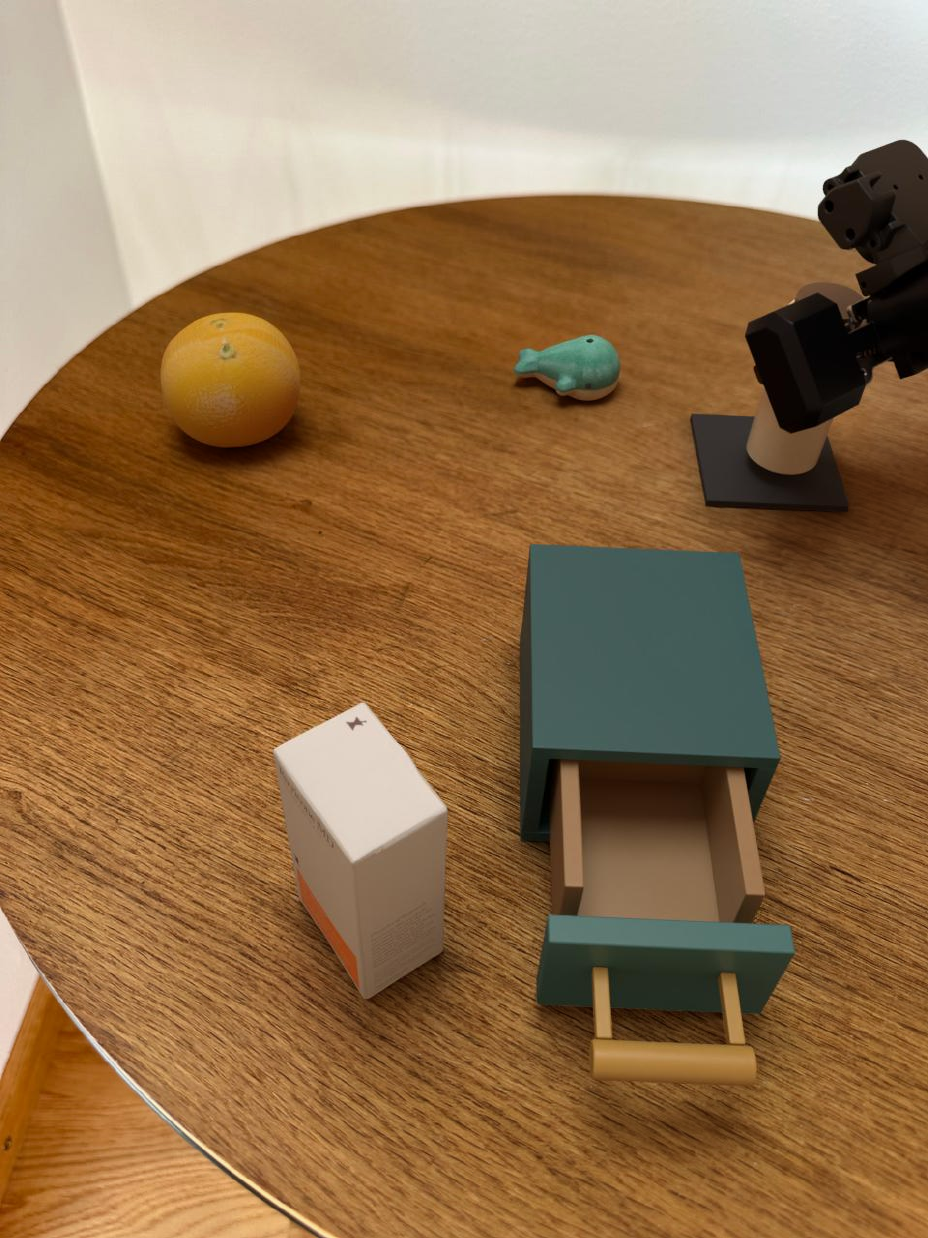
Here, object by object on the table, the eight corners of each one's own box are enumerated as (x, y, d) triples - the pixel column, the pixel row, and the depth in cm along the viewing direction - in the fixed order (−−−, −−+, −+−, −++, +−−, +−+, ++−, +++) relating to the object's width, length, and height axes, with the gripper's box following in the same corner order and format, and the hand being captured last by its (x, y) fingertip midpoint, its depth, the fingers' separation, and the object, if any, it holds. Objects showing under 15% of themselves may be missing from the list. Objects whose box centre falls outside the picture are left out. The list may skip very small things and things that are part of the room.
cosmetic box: (294, 900, 49) (267, 744, 40) (375, 853, 51) (365, 695, 42) (364, 1008, 46) (351, 865, 37) (447, 954, 47) (453, 806, 39)
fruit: (189, 483, 68) (167, 377, 62) (159, 411, 73) (136, 306, 67) (321, 450, 71) (313, 345, 65) (284, 383, 76) (272, 279, 70)
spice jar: (833, 459, 69) (890, 308, 61) (781, 484, 67) (833, 330, 59) (782, 421, 72) (830, 270, 63) (731, 443, 70) (774, 291, 62)
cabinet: (742, 851, 51) (781, 758, 46) (520, 841, 51) (532, 747, 46) (710, 651, 60) (739, 552, 54) (519, 642, 60) (529, 543, 54)
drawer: (777, 1121, 42) (817, 1066, 38) (537, 1110, 42) (551, 1054, 38) (724, 784, 53) (751, 712, 49) (533, 776, 53) (543, 703, 49)
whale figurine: (610, 416, 74) (617, 369, 71) (506, 398, 75) (509, 351, 72) (622, 369, 78) (629, 323, 75) (523, 352, 79) (527, 306, 76)
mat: (820, 424, 74) (822, 418, 74) (847, 512, 68) (849, 506, 68) (690, 418, 74) (691, 413, 74) (705, 505, 68) (707, 499, 68)
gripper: (1070, 73, 55) (839, 196, 69) (826, 162, 47) (622, 280, 61) (1137, 281, 56) (898, 360, 70) (912, 401, 49) (694, 462, 63)
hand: (785, 361), depth 66 cm, fingers closed on spice jar, 4 cm apart
